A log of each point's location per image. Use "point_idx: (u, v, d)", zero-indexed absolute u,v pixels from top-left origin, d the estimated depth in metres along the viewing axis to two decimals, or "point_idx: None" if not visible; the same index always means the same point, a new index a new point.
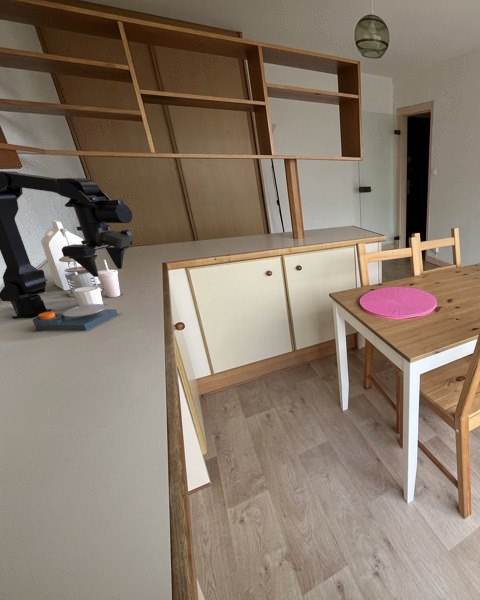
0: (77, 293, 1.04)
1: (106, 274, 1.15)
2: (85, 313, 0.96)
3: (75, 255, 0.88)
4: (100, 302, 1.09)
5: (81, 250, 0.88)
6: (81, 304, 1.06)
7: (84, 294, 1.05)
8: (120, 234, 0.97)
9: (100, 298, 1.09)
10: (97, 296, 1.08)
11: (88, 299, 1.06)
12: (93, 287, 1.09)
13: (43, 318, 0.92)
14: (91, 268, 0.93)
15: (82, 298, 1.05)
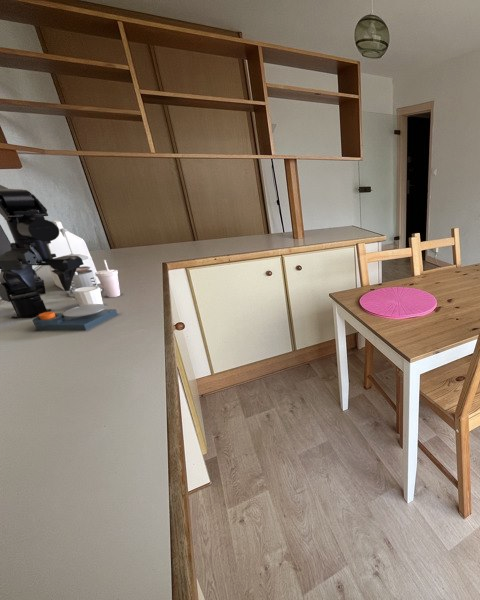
0: (77, 293, 1.04)
1: (106, 274, 1.15)
2: (85, 313, 0.96)
3: None
4: (100, 302, 1.09)
5: None
6: (81, 304, 1.06)
7: (84, 294, 1.05)
8: None
9: (100, 298, 1.09)
10: (97, 296, 1.08)
11: (88, 299, 1.06)
12: (93, 287, 1.09)
13: (43, 318, 0.92)
14: None
15: (82, 298, 1.05)
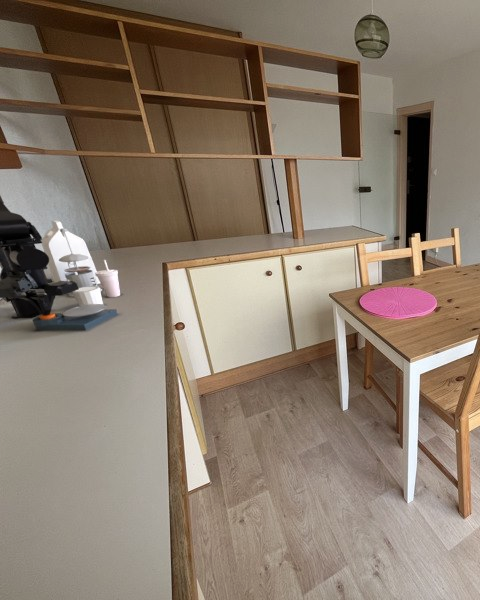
0: (77, 293, 1.04)
1: (106, 274, 1.15)
2: (85, 313, 0.96)
3: None
4: (100, 302, 1.09)
5: None
6: (81, 304, 1.06)
7: (84, 294, 1.05)
8: None
9: (100, 298, 1.09)
10: (97, 296, 1.08)
11: (88, 299, 1.06)
12: (93, 287, 1.09)
13: (44, 319, 0.92)
14: None
15: (82, 298, 1.05)
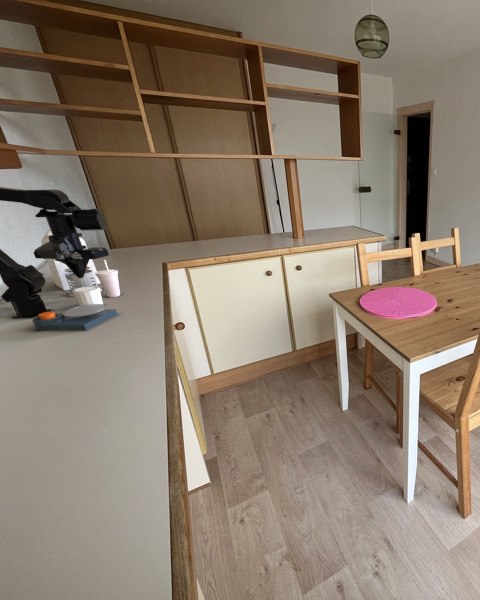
0: (77, 293, 1.04)
1: (106, 274, 1.15)
2: (85, 313, 0.96)
3: None
4: (100, 302, 1.09)
5: (34, 252, 0.99)
6: (81, 304, 1.06)
7: (84, 294, 1.05)
8: None
9: (100, 298, 1.09)
10: (97, 296, 1.08)
11: (88, 299, 1.06)
12: (93, 287, 1.09)
13: (43, 318, 0.92)
14: None
15: (82, 298, 1.05)
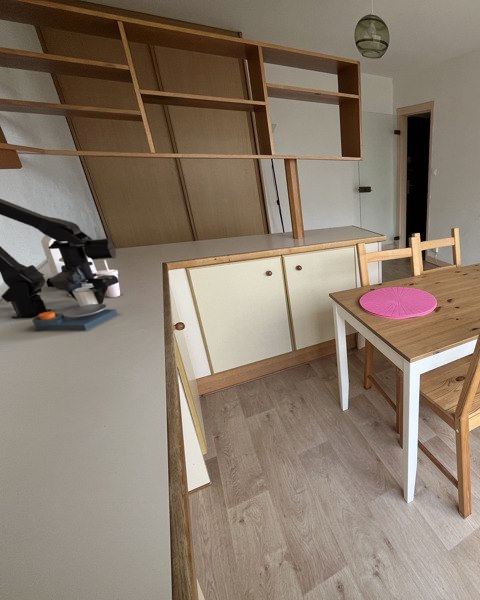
0: (77, 293, 1.04)
1: (106, 274, 1.15)
2: (85, 313, 0.96)
3: None
4: None
5: (46, 281, 1.03)
6: (81, 304, 1.06)
7: (84, 294, 1.05)
8: (67, 276, 0.99)
9: None
10: None
11: (88, 299, 1.06)
12: None
13: (43, 318, 0.92)
14: None
15: (82, 298, 1.05)
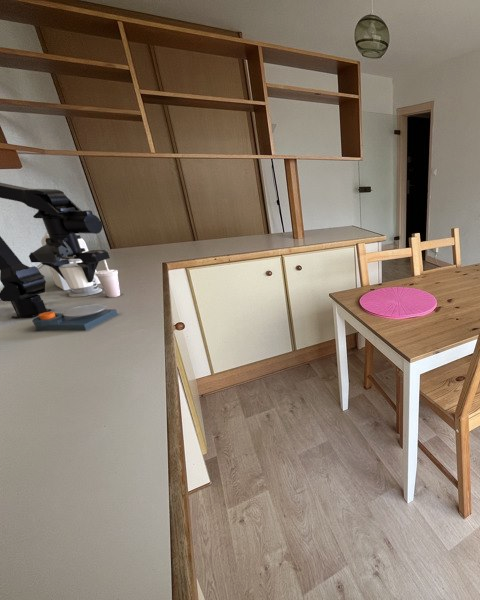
0: (64, 269, 0.95)
1: (106, 274, 1.15)
2: (85, 313, 0.96)
3: None
4: None
5: (29, 256, 0.94)
6: (69, 281, 0.97)
7: (72, 270, 0.96)
8: None
9: None
10: None
11: (76, 275, 0.97)
12: None
13: (43, 318, 0.92)
14: None
15: (70, 274, 0.96)
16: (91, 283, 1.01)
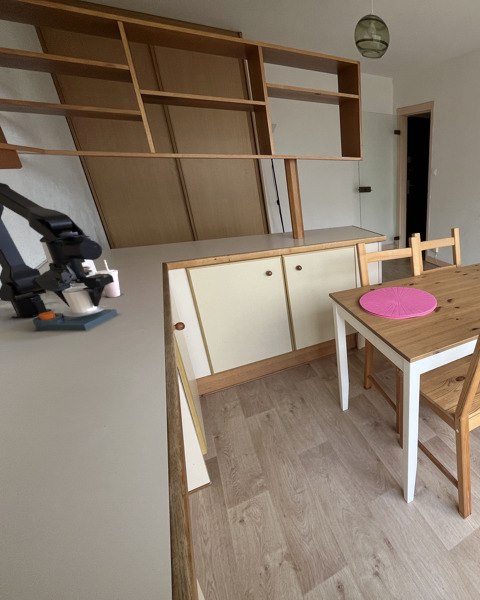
0: (67, 293, 0.93)
1: None
2: (85, 313, 0.96)
3: None
4: None
5: (32, 280, 0.92)
6: (72, 306, 0.95)
7: (75, 294, 0.94)
8: None
9: None
10: None
11: (79, 300, 0.95)
12: (85, 287, 0.98)
13: (43, 318, 0.92)
14: None
15: (73, 299, 0.94)
16: (95, 307, 0.99)
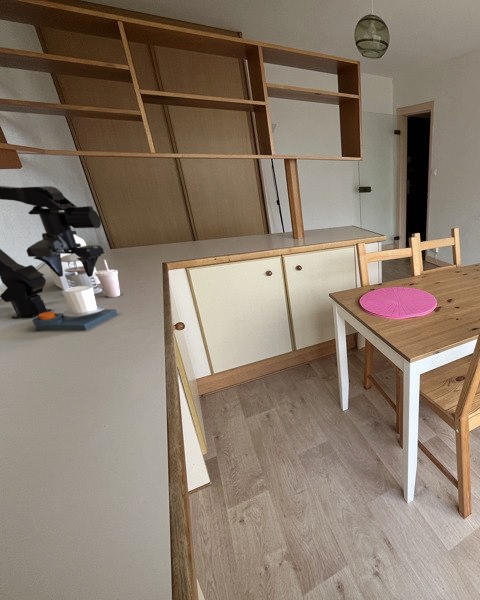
0: (67, 293, 0.93)
1: (106, 274, 1.15)
2: (85, 313, 0.96)
3: None
4: (93, 303, 0.98)
5: None
6: (72, 306, 0.95)
7: (75, 294, 0.94)
8: None
9: (93, 299, 0.98)
10: (90, 297, 0.97)
11: (79, 300, 0.95)
12: (85, 287, 0.98)
13: (43, 318, 0.92)
14: None
15: (73, 299, 0.94)
16: (95, 307, 0.99)
